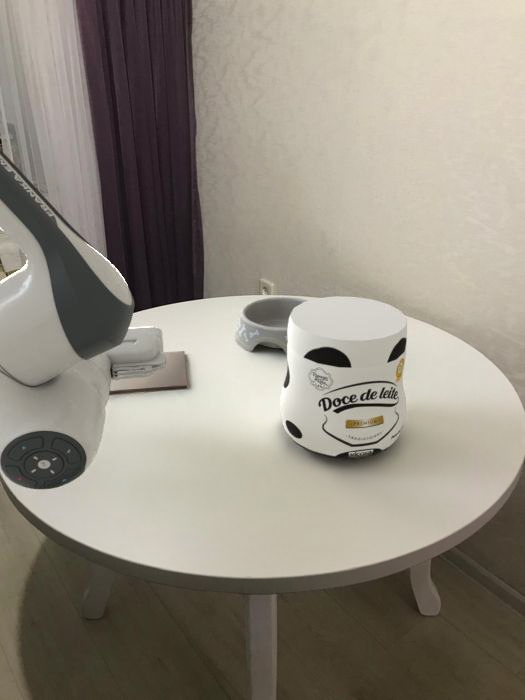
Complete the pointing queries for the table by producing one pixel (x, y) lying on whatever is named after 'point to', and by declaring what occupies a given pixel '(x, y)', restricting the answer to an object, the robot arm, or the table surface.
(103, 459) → the table surface
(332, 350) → the milk container
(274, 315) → the dog bowl
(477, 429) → the table surface
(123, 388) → the placemat
